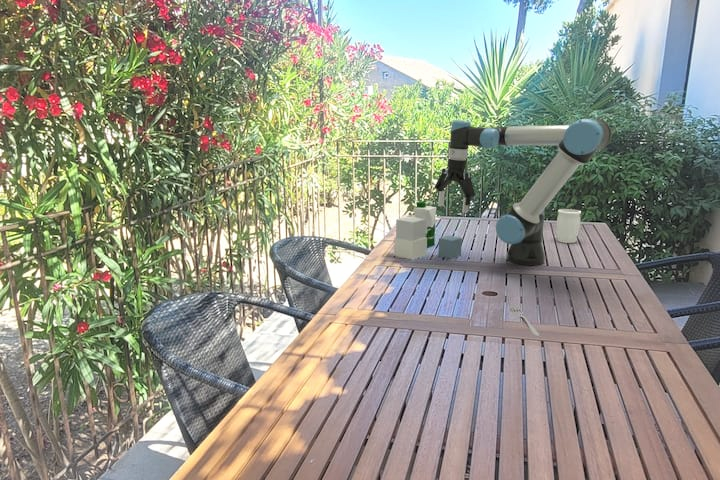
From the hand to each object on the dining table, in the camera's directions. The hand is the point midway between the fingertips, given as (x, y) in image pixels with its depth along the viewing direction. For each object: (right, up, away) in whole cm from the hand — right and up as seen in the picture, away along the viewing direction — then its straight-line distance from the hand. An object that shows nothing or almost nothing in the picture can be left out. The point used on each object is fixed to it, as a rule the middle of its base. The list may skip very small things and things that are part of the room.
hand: (452, 209), depth 216 cm
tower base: (-17, -20, +6) cm, 27 cm away
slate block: (0, -20, +5) cm, 21 cm away
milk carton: (-9, -16, +23) cm, 29 cm away
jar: (+60, -14, +29) cm, 68 cm away
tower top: (-17, -12, +4) cm, 21 cm away
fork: (+10, -38, -66) cm, 76 cm away
